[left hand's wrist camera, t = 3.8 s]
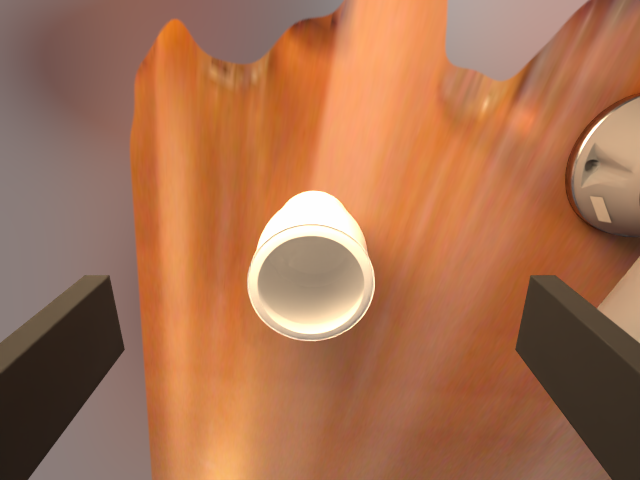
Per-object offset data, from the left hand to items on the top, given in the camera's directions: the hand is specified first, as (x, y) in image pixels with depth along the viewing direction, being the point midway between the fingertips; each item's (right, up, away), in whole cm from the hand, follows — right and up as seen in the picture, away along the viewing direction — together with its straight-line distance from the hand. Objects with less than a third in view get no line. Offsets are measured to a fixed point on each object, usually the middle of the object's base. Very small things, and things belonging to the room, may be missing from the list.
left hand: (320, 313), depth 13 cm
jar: (-1, +4, +34) cm, 34 cm away
